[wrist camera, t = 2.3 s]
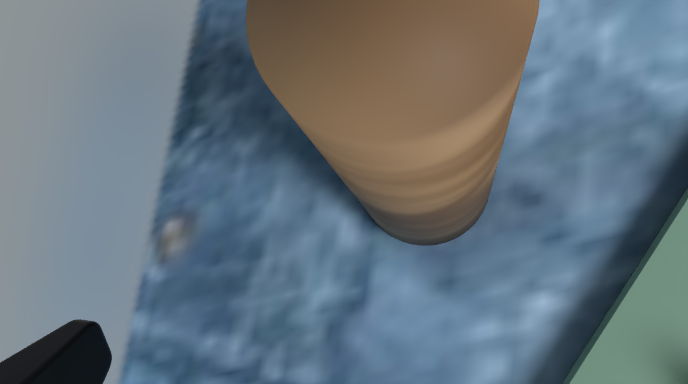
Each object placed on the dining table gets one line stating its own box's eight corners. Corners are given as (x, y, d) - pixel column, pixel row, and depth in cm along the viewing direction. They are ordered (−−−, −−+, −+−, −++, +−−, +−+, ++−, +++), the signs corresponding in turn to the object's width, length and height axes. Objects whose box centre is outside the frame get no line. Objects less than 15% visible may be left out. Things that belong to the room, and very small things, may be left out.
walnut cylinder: (443, 271, 21) (426, 197, 8) (338, 200, 22) (192, 48, 10) (515, 164, 21) (600, -58, 9) (408, 101, 23) (350, -165, 10)
